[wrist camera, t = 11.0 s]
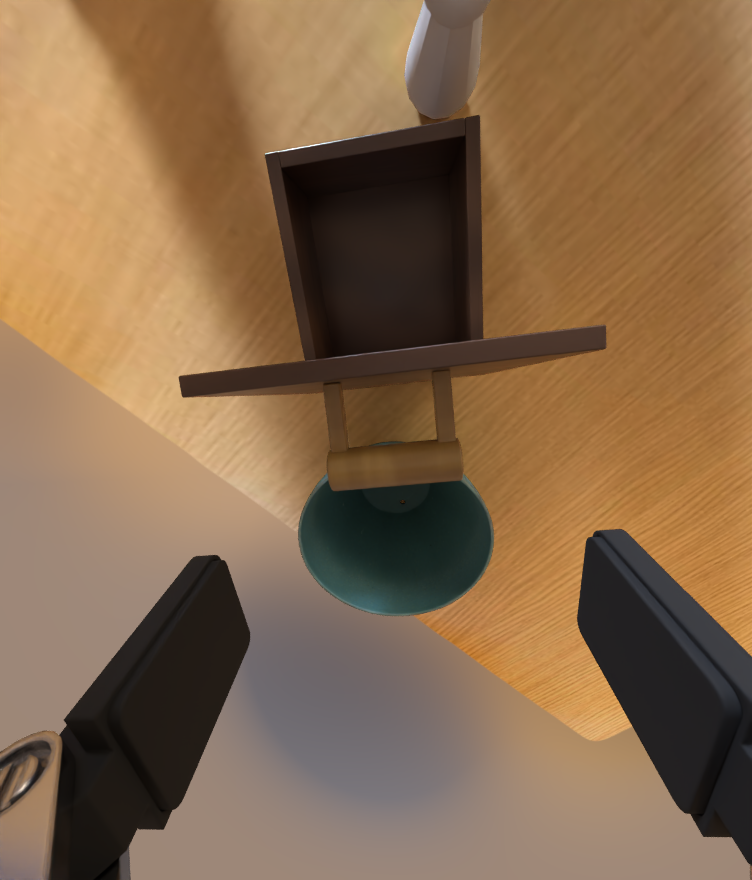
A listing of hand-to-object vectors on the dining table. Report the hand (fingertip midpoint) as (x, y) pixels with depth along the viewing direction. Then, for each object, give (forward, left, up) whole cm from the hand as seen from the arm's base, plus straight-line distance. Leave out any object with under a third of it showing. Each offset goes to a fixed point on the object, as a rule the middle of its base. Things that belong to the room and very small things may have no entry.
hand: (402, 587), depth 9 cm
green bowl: (+14, +2, -32) cm, 35 cm away
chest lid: (-3, -1, -14) cm, 14 cm away
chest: (-9, -3, -32) cm, 33 cm away
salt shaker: (-24, 0, -32) cm, 40 cm away
